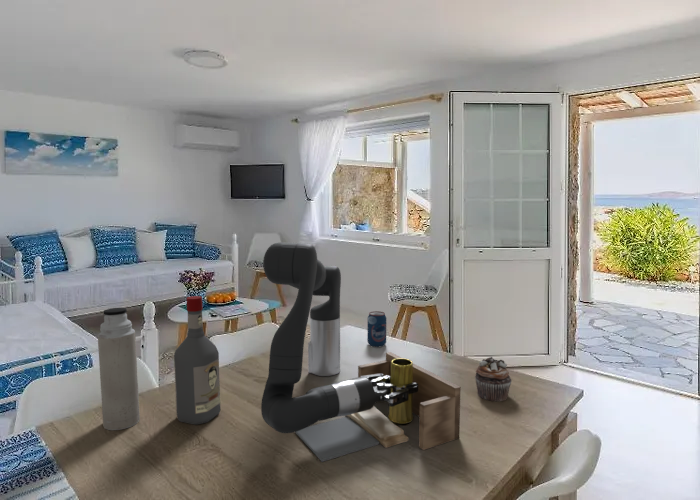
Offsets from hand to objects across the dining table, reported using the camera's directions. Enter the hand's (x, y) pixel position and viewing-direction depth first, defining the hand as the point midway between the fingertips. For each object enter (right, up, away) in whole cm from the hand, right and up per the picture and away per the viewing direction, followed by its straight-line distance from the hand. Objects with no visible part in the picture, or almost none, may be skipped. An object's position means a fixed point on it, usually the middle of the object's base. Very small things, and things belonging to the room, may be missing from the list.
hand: (409, 382), depth 115 cm
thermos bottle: (-70, -9, -1) cm, 71 cm away
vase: (-2, -9, 0) cm, 9 cm away
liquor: (-52, -9, +2) cm, 53 cm away
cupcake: (+25, -8, +14) cm, 29 cm away
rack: (-4, -9, -2) cm, 10 cm away
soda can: (-5, -3, +58) cm, 58 cm away
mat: (-18, -10, -9) cm, 22 cm away
